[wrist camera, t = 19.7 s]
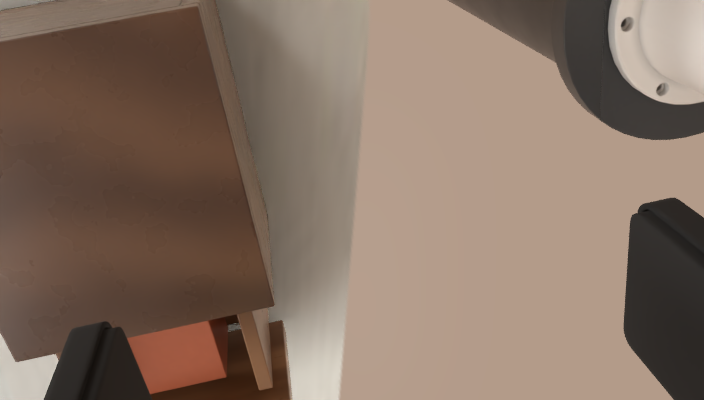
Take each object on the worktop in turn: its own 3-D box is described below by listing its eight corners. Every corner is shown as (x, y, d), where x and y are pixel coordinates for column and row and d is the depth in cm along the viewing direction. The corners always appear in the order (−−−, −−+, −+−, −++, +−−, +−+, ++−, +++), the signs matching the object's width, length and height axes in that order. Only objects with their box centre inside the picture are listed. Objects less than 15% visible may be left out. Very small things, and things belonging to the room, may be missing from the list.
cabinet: (267, 215, 39) (275, 306, 31) (64, 257, 39) (15, 363, 30) (208, -27, 33) (197, 5, 24) (-40, 17, 32) (-141, 67, 23)
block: (210, 271, 38) (207, 316, 34) (228, 328, 40) (227, 377, 36) (136, 287, 38) (124, 334, 34) (158, 344, 40) (149, 394, 36)
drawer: (299, 386, 45) (310, 477, 38) (139, 422, 44) (121, 522, 37) (240, 152, 36) (240, 215, 29) (40, 192, 36) (-8, 266, 29)
